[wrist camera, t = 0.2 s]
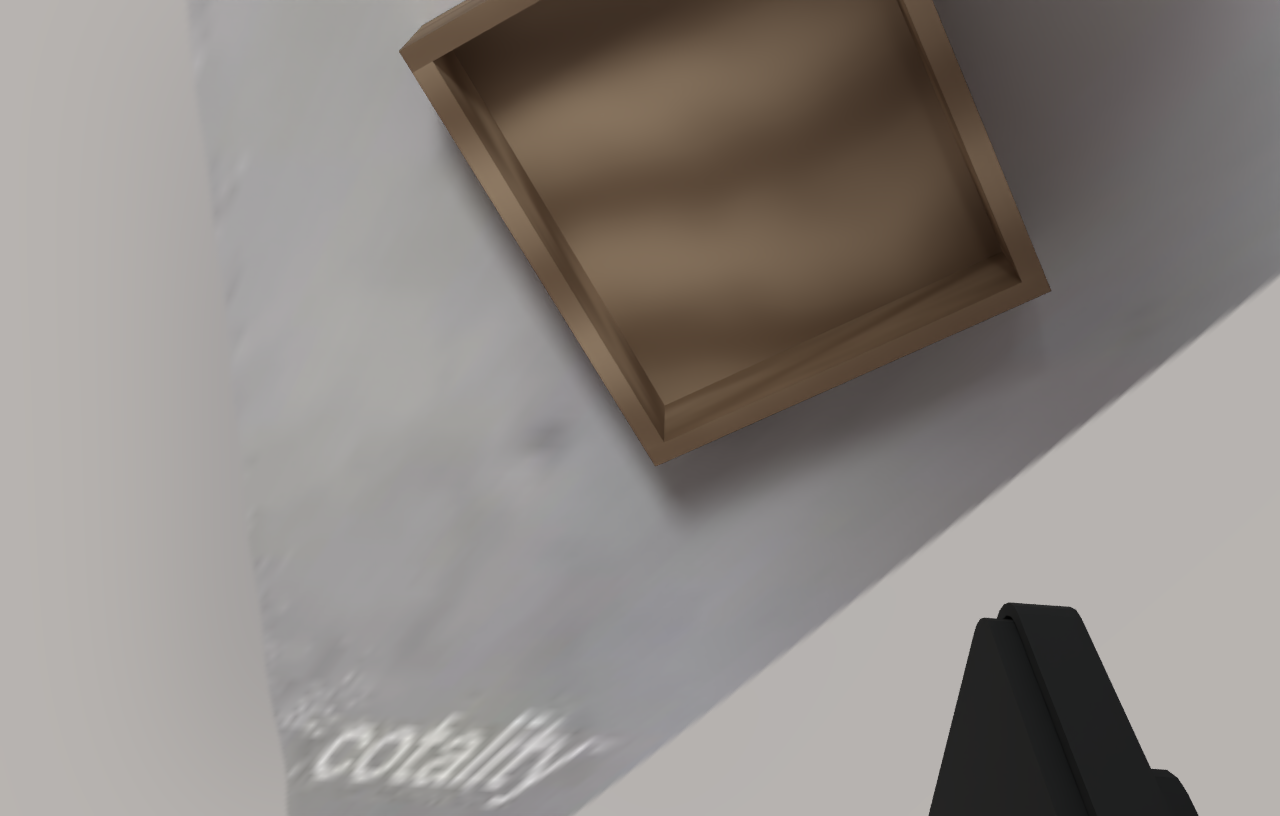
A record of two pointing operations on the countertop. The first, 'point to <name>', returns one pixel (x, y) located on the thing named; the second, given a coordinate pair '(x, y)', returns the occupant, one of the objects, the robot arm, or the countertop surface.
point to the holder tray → (733, 190)
